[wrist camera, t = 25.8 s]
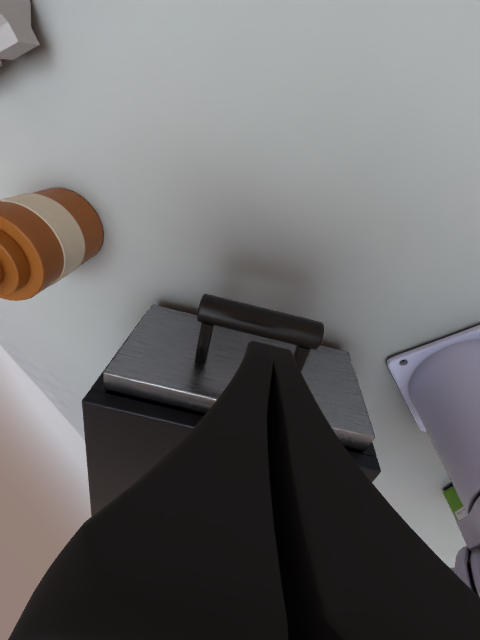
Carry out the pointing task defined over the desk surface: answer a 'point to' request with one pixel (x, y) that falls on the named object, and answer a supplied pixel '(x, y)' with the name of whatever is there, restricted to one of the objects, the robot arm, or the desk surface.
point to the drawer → (233, 361)
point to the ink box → (455, 503)
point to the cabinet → (143, 441)
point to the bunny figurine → (15, 29)
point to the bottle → (44, 240)
